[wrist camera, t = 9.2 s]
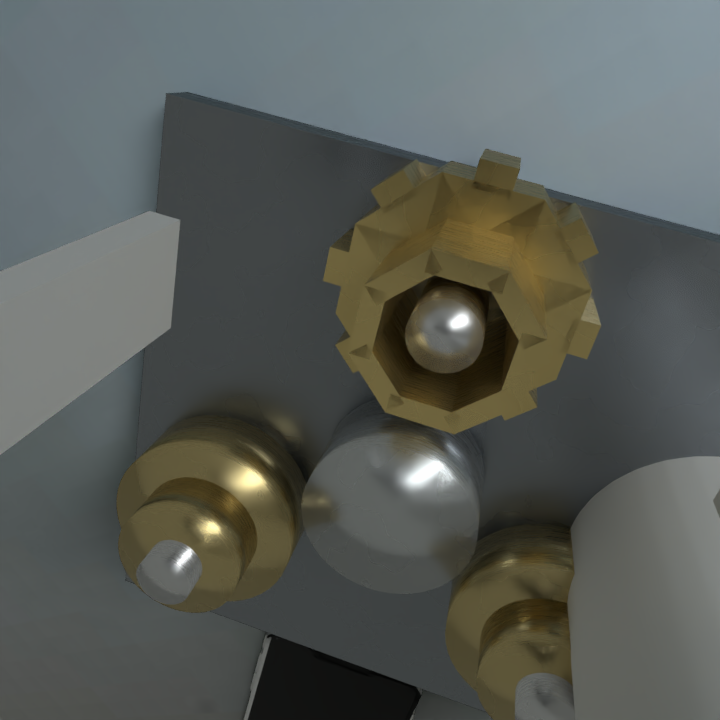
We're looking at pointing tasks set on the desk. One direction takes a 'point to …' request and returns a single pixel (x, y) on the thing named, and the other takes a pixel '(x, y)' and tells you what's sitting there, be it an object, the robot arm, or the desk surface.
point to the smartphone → (323, 687)
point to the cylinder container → (648, 596)
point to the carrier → (388, 423)
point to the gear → (471, 267)
